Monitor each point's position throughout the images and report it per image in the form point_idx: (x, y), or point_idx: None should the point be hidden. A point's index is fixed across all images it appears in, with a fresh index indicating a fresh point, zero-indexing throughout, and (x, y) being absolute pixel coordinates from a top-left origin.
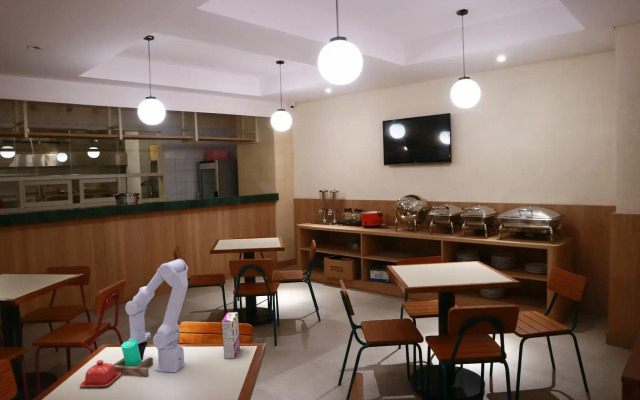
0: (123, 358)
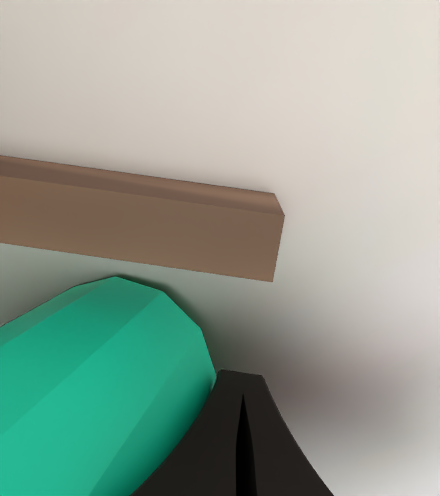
0: (156, 212)
